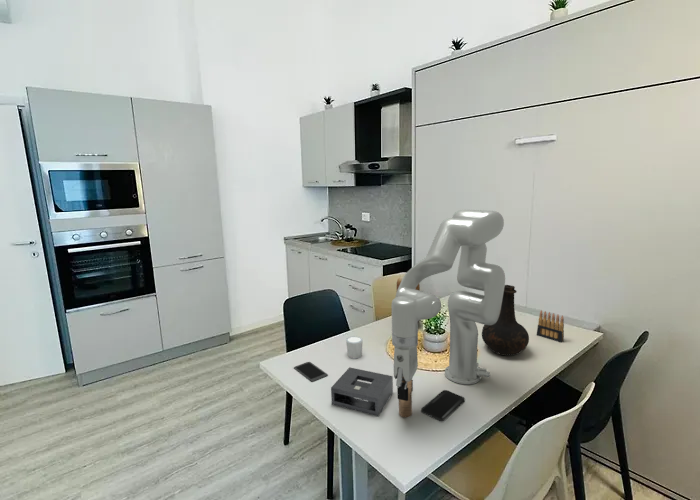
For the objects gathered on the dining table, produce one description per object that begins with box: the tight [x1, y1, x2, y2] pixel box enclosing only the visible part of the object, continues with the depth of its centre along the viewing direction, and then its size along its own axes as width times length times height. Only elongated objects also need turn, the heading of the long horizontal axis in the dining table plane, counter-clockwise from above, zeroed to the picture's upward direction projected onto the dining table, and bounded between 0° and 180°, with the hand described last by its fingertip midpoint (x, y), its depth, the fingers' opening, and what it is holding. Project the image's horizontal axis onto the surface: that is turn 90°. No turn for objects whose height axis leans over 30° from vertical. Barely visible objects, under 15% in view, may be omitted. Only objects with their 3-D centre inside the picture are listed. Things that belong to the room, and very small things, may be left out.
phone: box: [420, 389, 466, 423], centre depth 115 cm, size 8×1×15 cm
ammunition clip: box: [536, 309, 565, 344], centre depth 160 cm, size 11×2×12 cm, turn 38°
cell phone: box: [293, 361, 329, 383], centre depth 138 cm, size 7×14×1 cm, turn 38°
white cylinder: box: [345, 335, 363, 359], centre depth 149 cm, size 7×7×7 cm
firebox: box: [330, 366, 394, 417], centre depth 119 cm, size 16×14×6 cm
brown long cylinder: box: [398, 376, 413, 418], centre depth 110 cm, size 4×4×16 cm
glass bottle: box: [481, 284, 530, 356], centre depth 148 cm, size 18×18×28 cm
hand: (405, 394), depth 110 cm, fingers closed on brown long cylinder, 4 cm apart
